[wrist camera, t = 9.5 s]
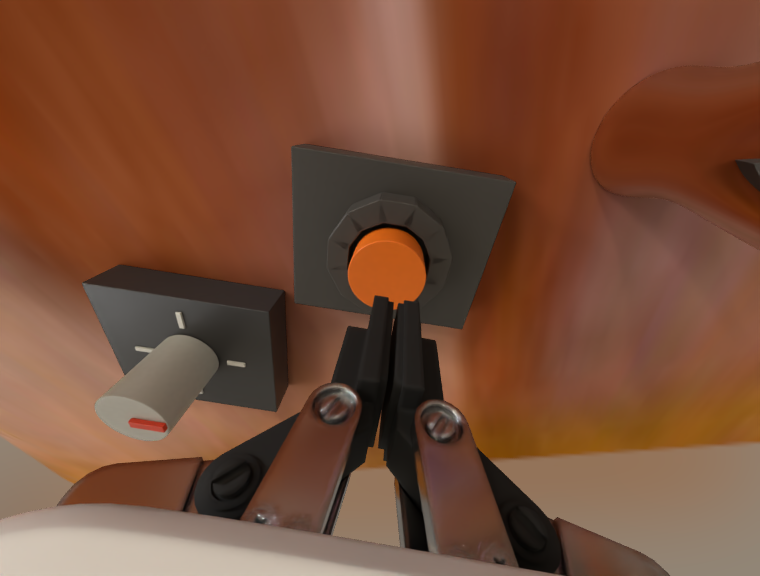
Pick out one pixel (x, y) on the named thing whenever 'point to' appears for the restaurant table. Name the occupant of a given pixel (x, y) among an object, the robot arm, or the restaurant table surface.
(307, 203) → the power block
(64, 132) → the restaurant table surface
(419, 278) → the power button
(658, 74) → the beer glass
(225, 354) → the panel
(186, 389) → the timer knob
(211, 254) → the restaurant table surface
